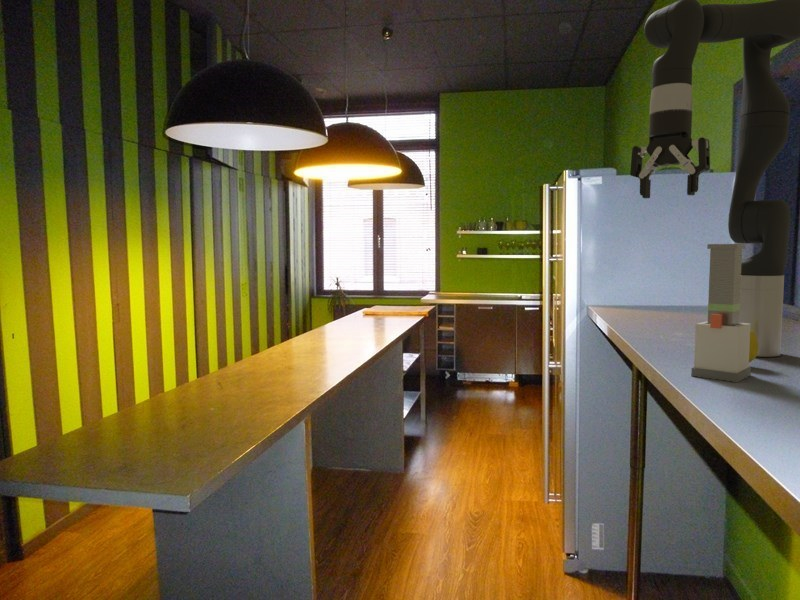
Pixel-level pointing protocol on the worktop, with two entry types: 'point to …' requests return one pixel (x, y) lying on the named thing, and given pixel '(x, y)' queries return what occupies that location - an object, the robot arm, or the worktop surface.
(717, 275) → the column
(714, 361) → the stand
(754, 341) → the lemon
